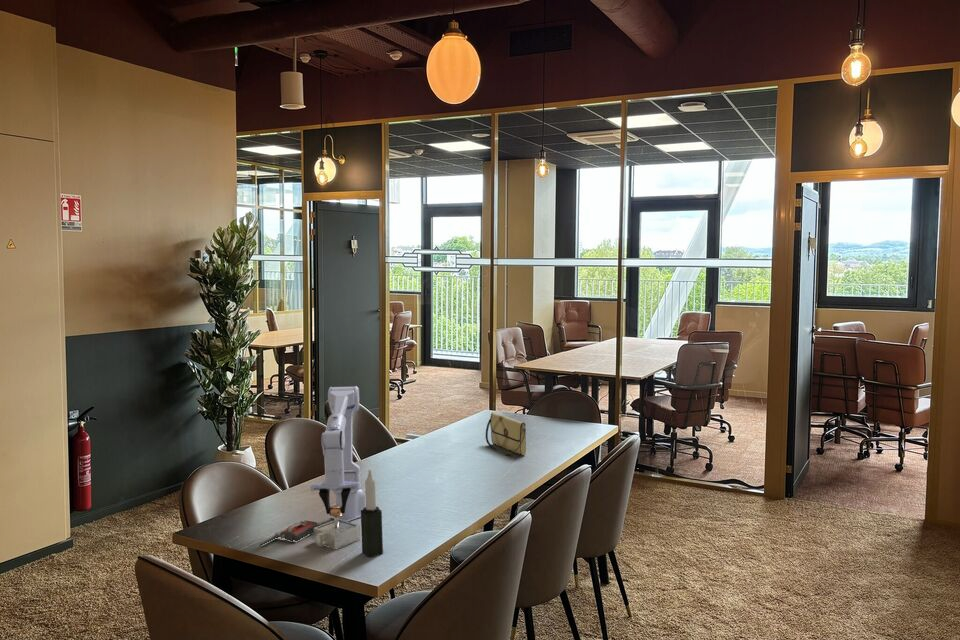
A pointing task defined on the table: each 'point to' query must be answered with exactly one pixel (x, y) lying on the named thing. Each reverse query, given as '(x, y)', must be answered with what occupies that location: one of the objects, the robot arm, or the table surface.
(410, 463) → the table surface
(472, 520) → the table surface
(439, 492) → the table surface
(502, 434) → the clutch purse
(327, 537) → the square tray with tab
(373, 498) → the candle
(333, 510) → the square lid with knob
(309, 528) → the walkie-talkie
